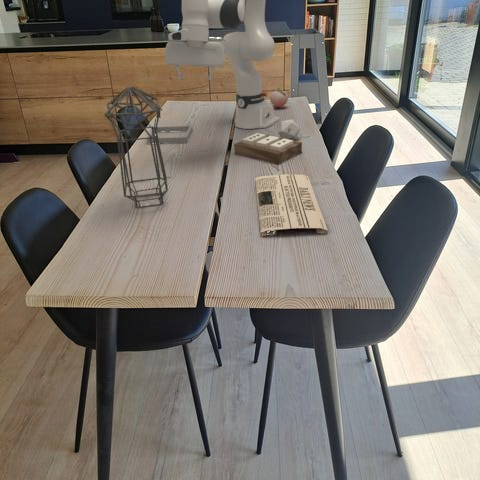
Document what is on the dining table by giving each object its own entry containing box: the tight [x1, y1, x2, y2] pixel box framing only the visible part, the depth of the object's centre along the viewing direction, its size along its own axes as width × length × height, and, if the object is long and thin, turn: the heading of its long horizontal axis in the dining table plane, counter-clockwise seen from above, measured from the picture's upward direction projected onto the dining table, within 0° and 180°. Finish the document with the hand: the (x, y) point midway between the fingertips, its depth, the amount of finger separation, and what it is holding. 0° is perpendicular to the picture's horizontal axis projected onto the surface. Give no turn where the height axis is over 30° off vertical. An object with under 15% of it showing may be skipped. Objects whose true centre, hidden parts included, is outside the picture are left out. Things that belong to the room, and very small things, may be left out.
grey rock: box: [276, 118, 301, 141], centre depth 187 cm, size 8×9×10 cm
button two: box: [270, 139, 294, 151], centre depth 170 cm, size 9×4×3 cm, turn 140°
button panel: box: [233, 134, 303, 166], centre depth 175 cm, size 15×21×4 cm
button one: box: [256, 135, 280, 148], centre depth 174 cm, size 9×4×3 cm, turn 140°
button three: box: [242, 132, 267, 145], centre depth 178 cm, size 9×4×3 cm, turn 140°
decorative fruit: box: [269, 88, 289, 109], centre depth 230 cm, size 9×8×10 cm
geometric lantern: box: [103, 85, 169, 209], centre depth 135 cm, size 16×16×35 cm
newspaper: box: [254, 173, 328, 238], centre depth 136 cm, size 37×19×3 cm, turn 1°
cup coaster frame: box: [146, 125, 194, 144], centre depth 198 cm, size 17×17×2 cm
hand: (195, 80), depth 156 cm, fingers open, 8 cm apart
